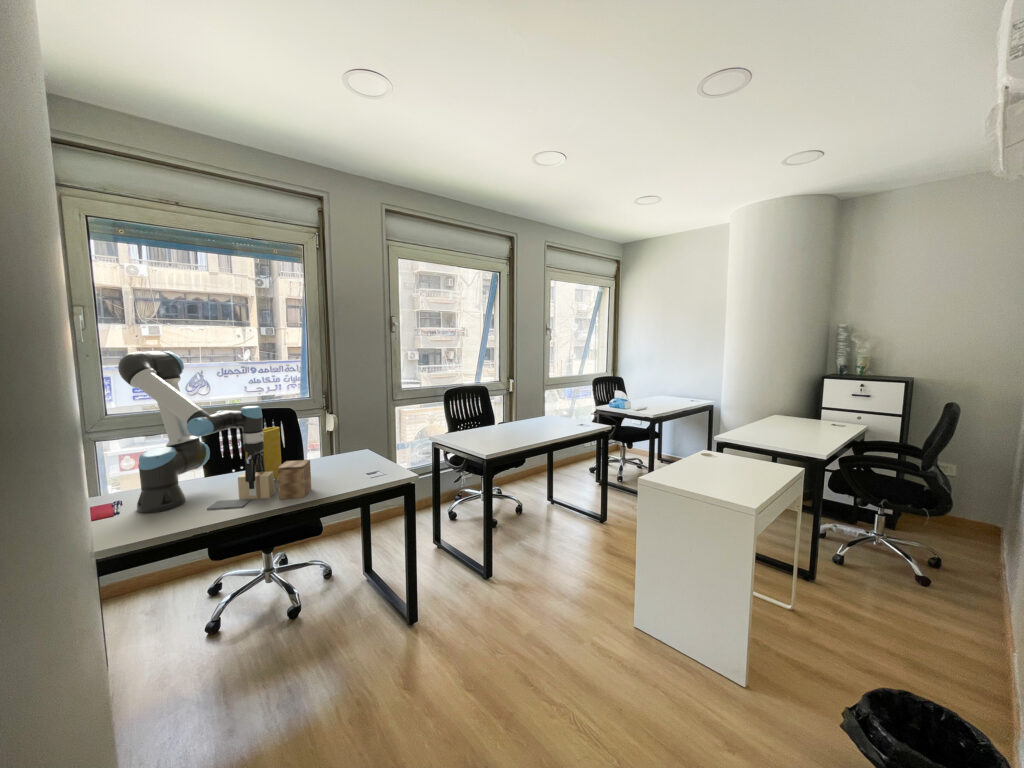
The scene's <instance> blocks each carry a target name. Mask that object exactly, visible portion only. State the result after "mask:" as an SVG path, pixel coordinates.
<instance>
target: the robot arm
mask: <svg viewBox="0 0 1024 768" xmlns="http://www.w3.org/2000/svg"><path fill="white" fill-rule="evenodd" d="M184 366H185V365H184V362H183V360H182V359H181V357H180V356H179V355H178V354H176V353H175V352H172V351H164V350H155V351H152V350H151V351H135V352H131V353H130V352H129V353H128V354H125V355H124V356H123V357H122V358H121V359H120V361H119V362H118V367H117V368H118V370H117V371H118V372H119V373H118V374H119V375H120V377H121V378H122V380H124V382H126V383H127V384H128V385H130V386H131V387H132V388H135V389H140V390H141V391H143V393H145V394H146V395H148V396H149V397H150V398H152V399H153V400H155V401H156V403H157V406H158V409H159V412H160V416H161V419H162V423H163V425H164V429H165V431H166V435H167V438H168V442H167V443H166V445H165V446H163V447H158V448H153V449H152V448H151V449H150V450H146V451H145V452H142V454H140V456H139V457H138V465H137V466H138V471H139V480H140V490H141V491H140V494H139V497H138V501H137V504H136V511H137V513H141V514H153V513H159V512H164V511H165V512H166V511H169V510H172V509H175V508H177V507H180V506H181V505H183V504H184V503H185V502H186V495H185V493H184V492H183V490H182V488H181V486H180V485H179V476H180V475H182V474H185V473H187V472H190V471H193V470H197V469H199V468H200V467H202V466H204V465H205V464H206V463H207V462H208V460H210V456H211V455H210V454H211V452H210V447H209V446H208V444H206V443H205V442H204V441H202V440H200V437H204V436H209V435H211V434H216V433H219V432H222V431H225V430H229V429H242V441H243V444H242V445H243V451H244V453H245V452H248V459H246V458H244V461H243V462H244V468H245V469H244V473H245V481H246V482H249V496H256V495H257V487H256V480H255V473H256V472H264V471H265V463H264V451H261V450H263V449H264V441H262V440H263V436H264V434H263V429H264V426H263V412H262V407H261V406H260V405H248V406H243V407H241V408H240V410H227V409H224V410H217V411H215V413H213V414H210V413H208V412H207V411H206V410H204V409H203V408H201V407H200V406H199V405H197V404H196V403H195V402H194V401H192V400H191V399H189V398H188V397H187V396H186V395H184V394H183V393H181V390H180V386H179V382H180V381H181V375H182V373H183V372H184V371H183V370H184V368H185V367H184ZM244 442H245V443H244ZM253 463H254V464H253Z"/></svg>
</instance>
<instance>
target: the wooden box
mask: <svg viewBox="0 0 1024 768" xmlns="http://www.w3.org/2000/svg"><path fill="white" fill-rule="evenodd" d="M311 471H312V470H311V459H296V460H294V459H293V460H286V461H284V462H283V463H281V466H280V467H278V478H277V480H278V481H277V482H278V499H279V500H285V499H286V500H287V499H303V498H305V497H306V496H307V495H308V494H309V492H310V491H312V477H311V476H312V473H311Z"/></svg>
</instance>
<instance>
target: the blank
mask: <svg viewBox="0 0 1024 768" xmlns="http://www.w3.org/2000/svg"><path fill="white" fill-rule="evenodd" d="M255 480H256V487H257V495H256V496H249V482H246V481H245V472H243V473H241V474H240V475H239V476H238V477H237V485H238V486H237V487H238V499H251V500H254V499H255V500H256V499H269V498H271V497H272V496H273V495H274V494H275V493H276V490H275V479H274V471H271V472H265V471H264V472H256V473H255Z"/></svg>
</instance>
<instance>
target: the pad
mask: <svg viewBox="0 0 1024 768" xmlns="http://www.w3.org/2000/svg"><path fill="white" fill-rule="evenodd" d="M251 501H252V499H239V498H237V499H221V500H216V501H214V503H212V504H211V505H210V506H209V507H207V508H206V509H207V510H208V511H209V510H222V509H223V510H228V509H240V508H241V509H242V508H244V507H246V506H247V504H249V503H250V502H251Z"/></svg>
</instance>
